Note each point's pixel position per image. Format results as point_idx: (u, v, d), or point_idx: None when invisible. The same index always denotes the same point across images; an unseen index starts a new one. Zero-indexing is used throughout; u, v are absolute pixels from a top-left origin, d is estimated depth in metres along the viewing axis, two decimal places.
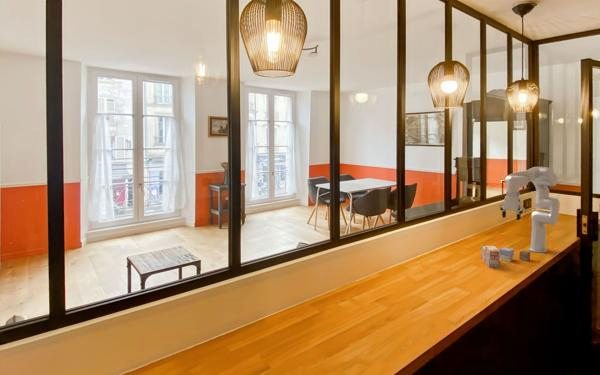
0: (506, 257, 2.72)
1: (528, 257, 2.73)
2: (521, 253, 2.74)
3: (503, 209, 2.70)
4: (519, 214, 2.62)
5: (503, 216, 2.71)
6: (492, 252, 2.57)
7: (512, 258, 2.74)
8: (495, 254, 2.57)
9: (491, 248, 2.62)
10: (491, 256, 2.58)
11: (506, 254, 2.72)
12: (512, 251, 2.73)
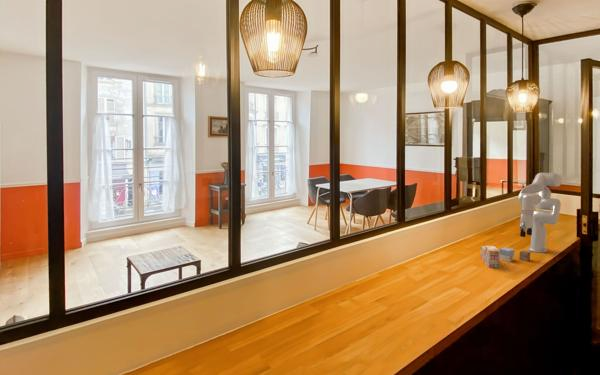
0: (506, 257, 2.72)
1: (528, 257, 2.73)
2: (521, 253, 2.74)
3: (525, 228, 2.68)
4: None
5: None
6: (492, 252, 2.57)
7: (512, 258, 2.74)
8: (495, 254, 2.57)
9: (491, 248, 2.62)
10: (491, 256, 2.58)
11: (506, 254, 2.72)
12: (512, 251, 2.73)
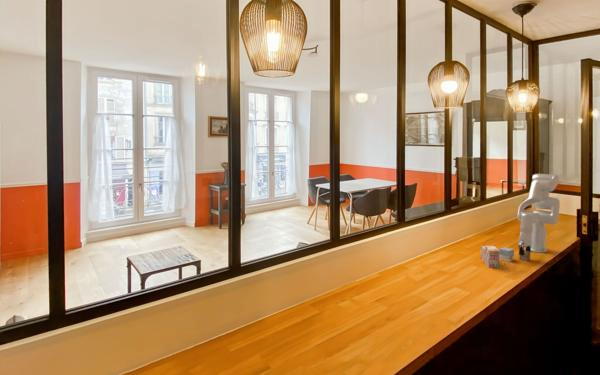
0: (506, 257, 2.72)
1: (528, 257, 2.73)
2: None
3: (524, 247, 2.69)
4: None
5: (523, 254, 2.70)
6: (492, 252, 2.57)
7: (512, 258, 2.74)
8: (495, 254, 2.57)
9: (491, 248, 2.62)
10: (491, 256, 2.58)
11: (506, 254, 2.72)
12: (512, 251, 2.73)
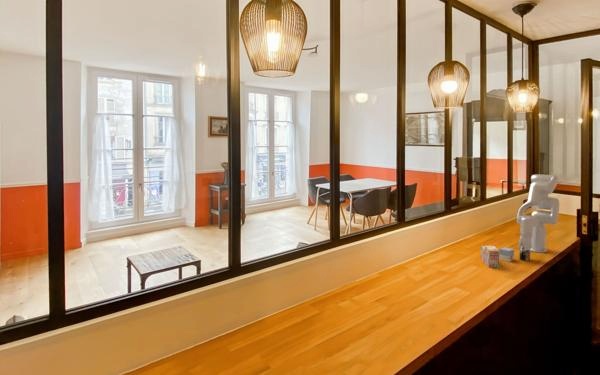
0: (506, 257, 2.72)
1: (528, 257, 2.73)
2: None
3: (524, 252, 2.71)
4: None
5: None
6: (492, 252, 2.58)
7: (512, 258, 2.74)
8: (495, 254, 2.57)
9: (491, 248, 2.63)
10: (491, 256, 2.58)
11: (506, 254, 2.72)
12: (512, 251, 2.73)
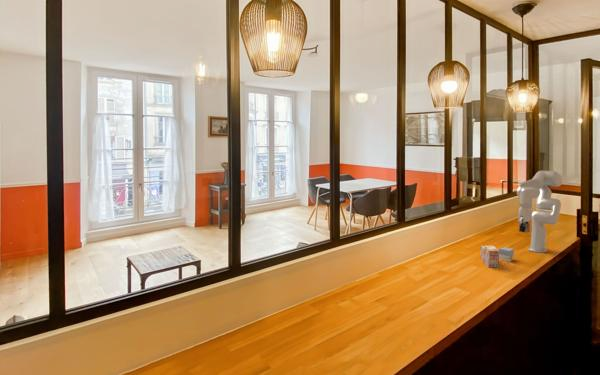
0: (506, 257, 2.72)
1: (527, 229, 2.70)
2: None
3: (524, 223, 2.68)
4: None
5: (524, 230, 2.70)
6: (491, 252, 2.58)
7: (512, 258, 2.74)
8: (494, 254, 2.58)
9: (490, 248, 2.63)
10: (490, 256, 2.58)
11: (506, 254, 2.72)
12: (512, 251, 2.73)
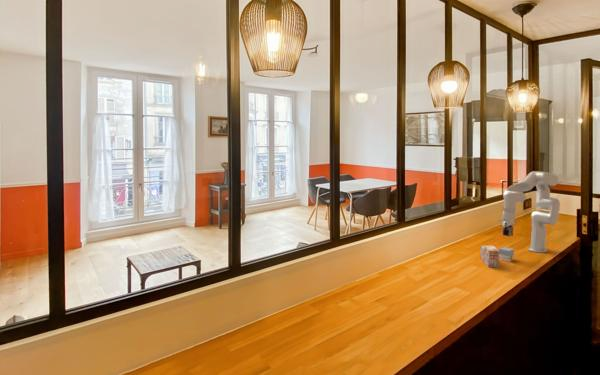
0: (506, 257, 2.72)
1: (511, 233, 2.71)
2: None
3: (507, 227, 2.70)
4: None
5: None
6: (491, 252, 2.58)
7: (512, 258, 2.74)
8: (494, 254, 2.58)
9: (490, 248, 2.63)
10: (490, 256, 2.58)
11: (506, 254, 2.72)
12: (512, 251, 2.73)
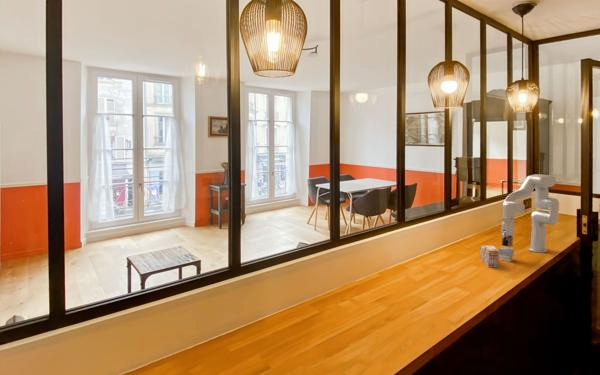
0: (506, 257, 2.72)
1: (510, 243, 2.72)
2: None
3: (507, 237, 2.71)
4: None
5: (507, 244, 2.72)
6: (491, 252, 2.58)
7: (512, 258, 2.74)
8: (494, 254, 2.58)
9: (490, 248, 2.63)
10: (490, 256, 2.58)
11: (506, 254, 2.72)
12: (512, 251, 2.73)
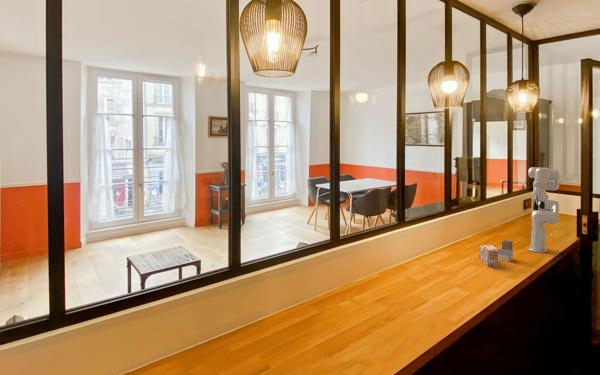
0: (505, 257, 2.72)
1: (510, 247, 2.73)
2: (503, 242, 2.74)
3: (538, 202, 2.69)
4: None
5: (538, 209, 2.70)
6: (491, 251, 2.58)
7: (511, 258, 2.74)
8: (494, 253, 2.58)
9: (489, 247, 2.64)
10: (490, 255, 2.59)
11: (505, 253, 2.72)
12: (511, 251, 2.74)
